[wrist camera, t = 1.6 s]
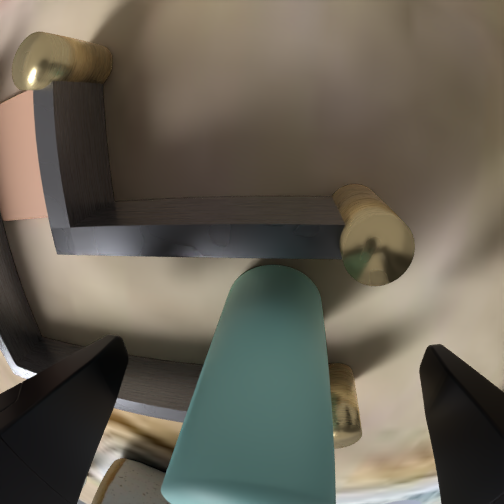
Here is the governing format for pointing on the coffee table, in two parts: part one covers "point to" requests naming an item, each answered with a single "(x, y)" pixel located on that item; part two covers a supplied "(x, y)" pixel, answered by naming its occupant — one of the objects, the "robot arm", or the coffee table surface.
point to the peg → (260, 401)
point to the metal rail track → (171, 229)
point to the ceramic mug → (130, 484)
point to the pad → (19, 161)
